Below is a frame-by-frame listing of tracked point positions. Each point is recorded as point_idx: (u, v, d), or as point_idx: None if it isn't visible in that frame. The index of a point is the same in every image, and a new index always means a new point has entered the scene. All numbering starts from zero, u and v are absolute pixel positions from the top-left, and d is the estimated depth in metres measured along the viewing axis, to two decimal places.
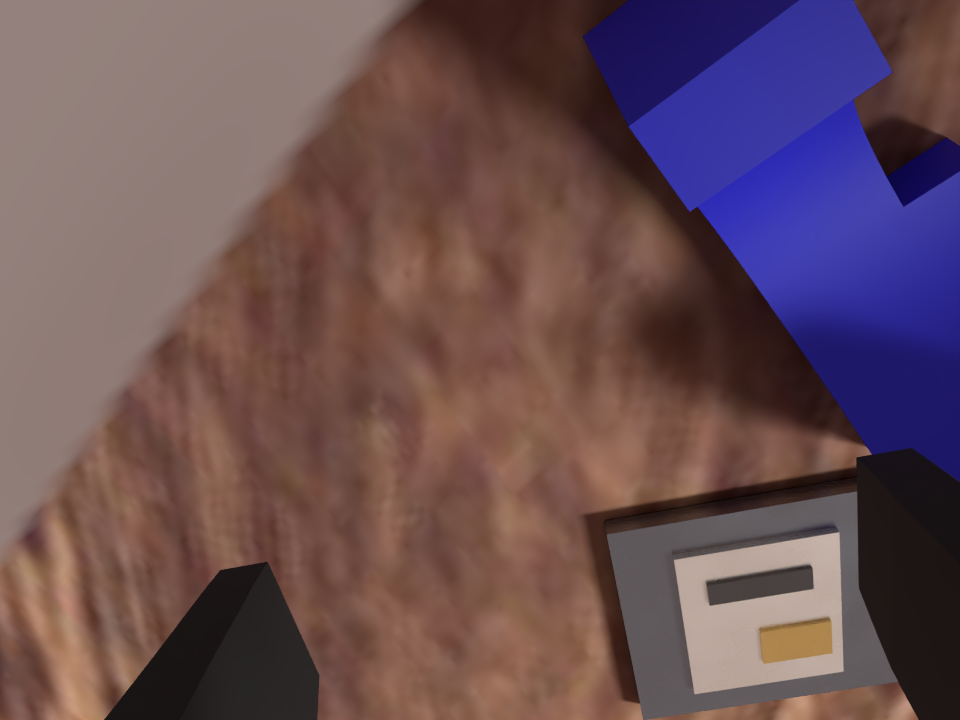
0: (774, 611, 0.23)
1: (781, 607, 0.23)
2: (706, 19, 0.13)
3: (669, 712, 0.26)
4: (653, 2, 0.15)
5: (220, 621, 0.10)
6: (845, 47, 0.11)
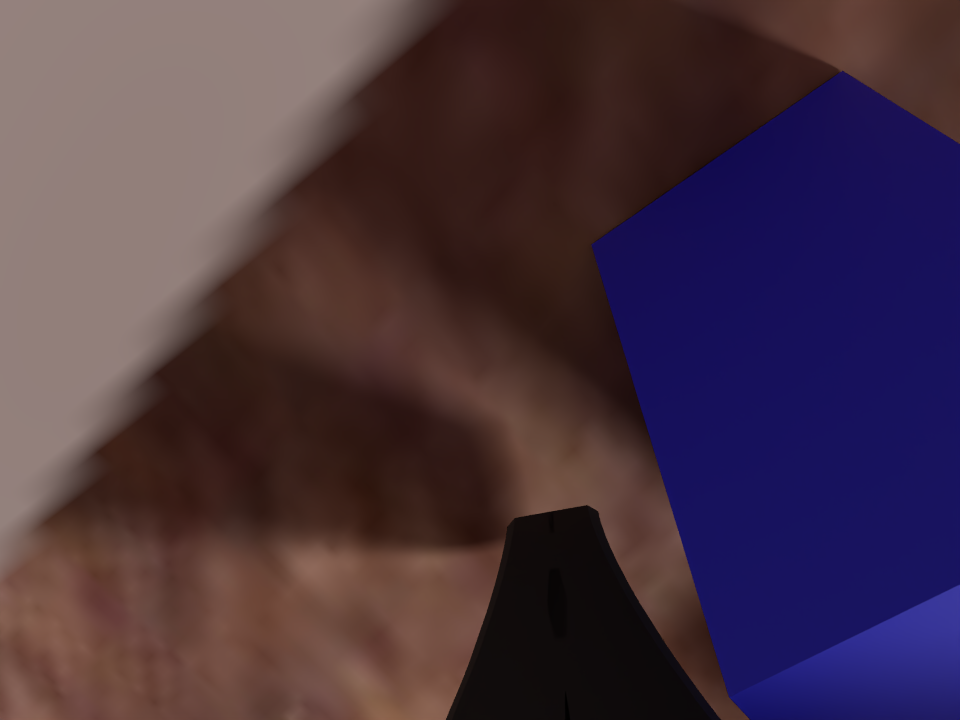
0: None
1: None
2: (885, 358, 0.06)
3: None
4: (728, 226, 0.08)
5: (550, 565, 0.09)
6: None
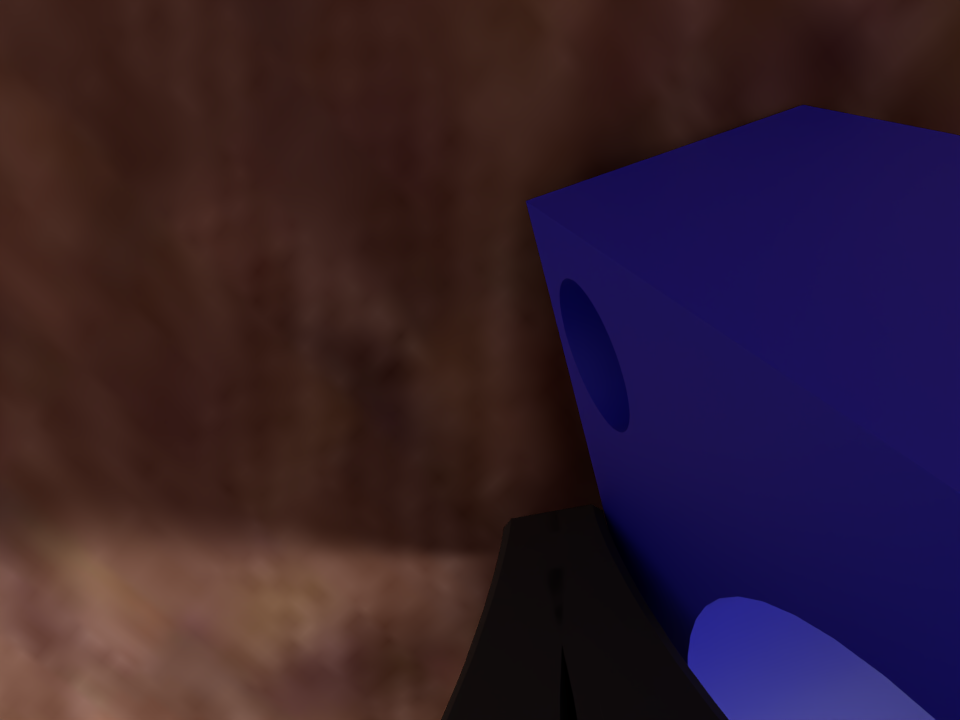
0: None
1: None
2: None
3: None
4: (723, 187, 0.08)
5: (546, 565, 0.09)
6: None
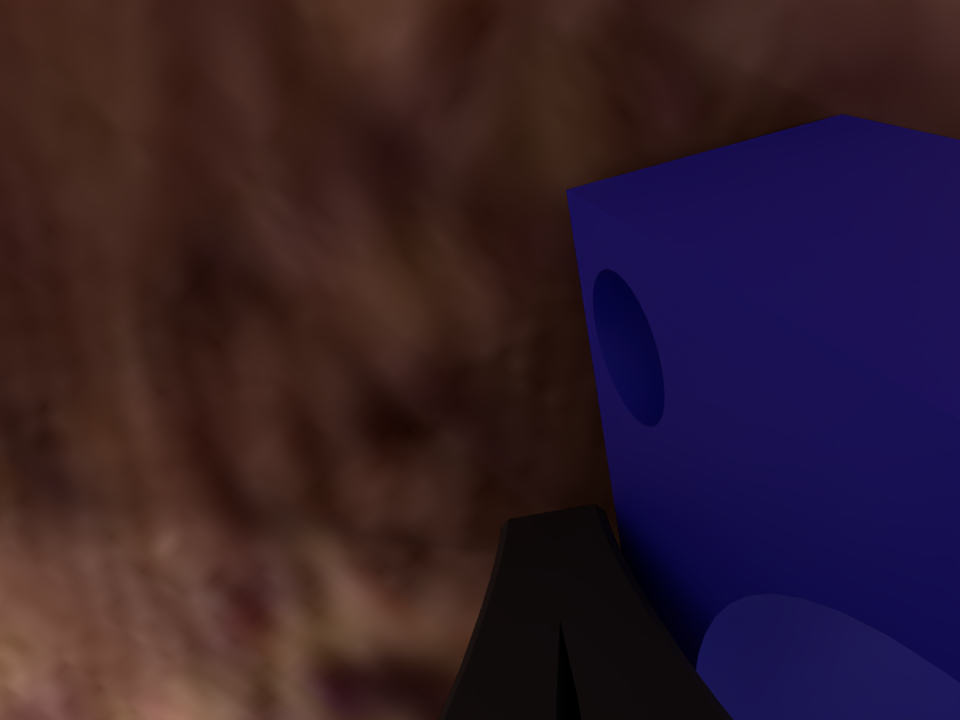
0: None
1: None
2: None
3: None
4: (773, 187, 0.08)
5: (543, 565, 0.09)
6: None
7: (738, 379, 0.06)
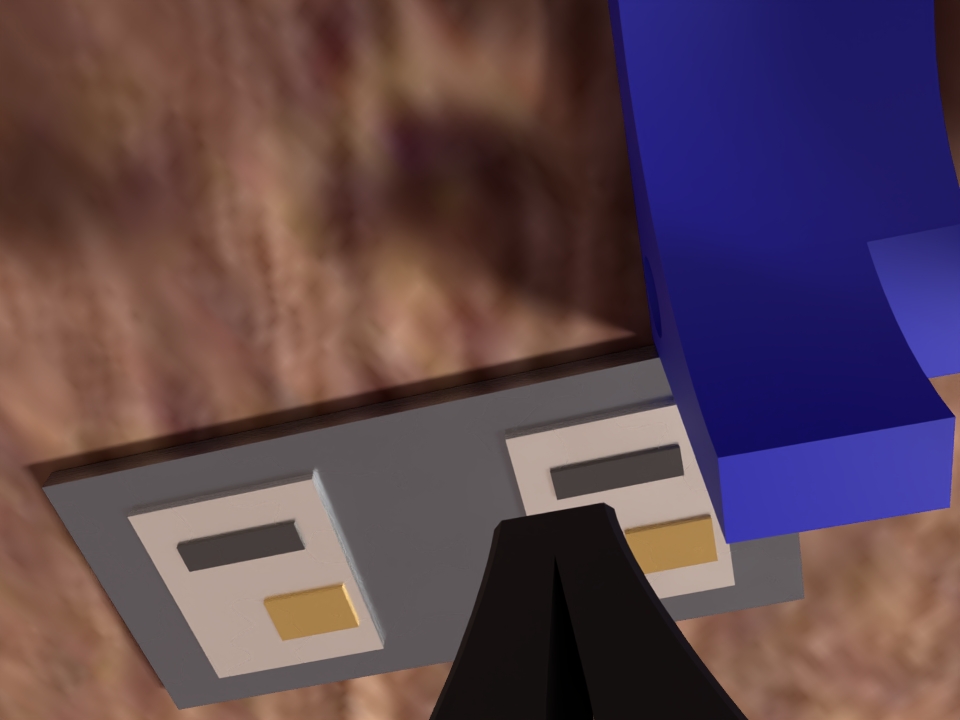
0: (272, 577, 0.20)
1: (280, 572, 0.20)
2: None
3: (209, 699, 0.22)
4: None
5: (534, 567, 0.09)
6: None
7: None
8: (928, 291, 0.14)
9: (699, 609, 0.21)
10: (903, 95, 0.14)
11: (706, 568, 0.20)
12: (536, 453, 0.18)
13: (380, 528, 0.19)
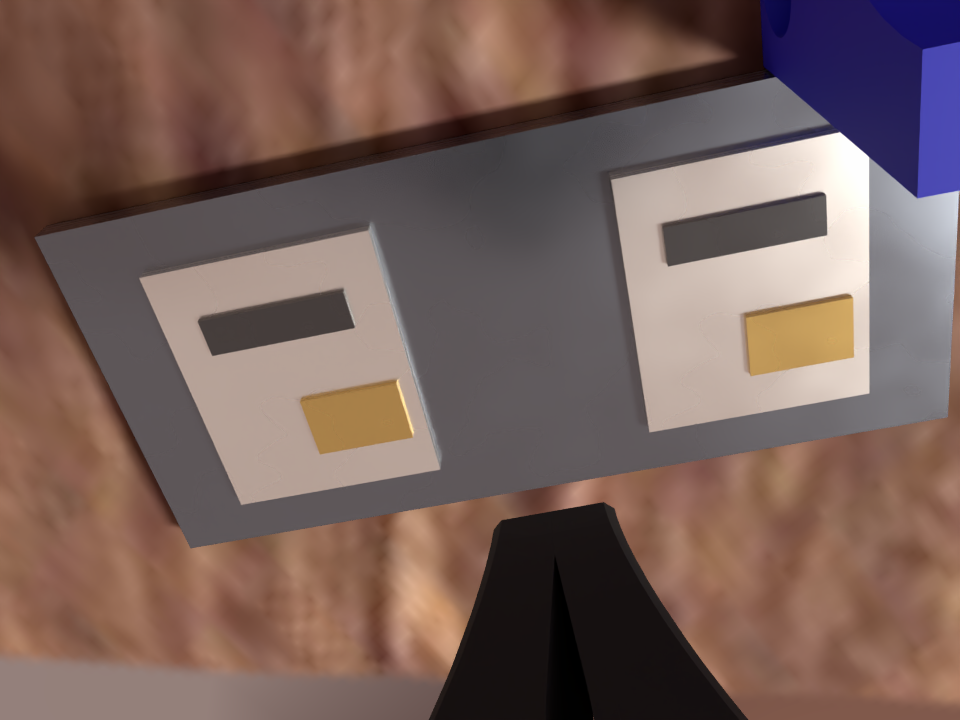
0: (312, 368, 0.16)
1: (322, 362, 0.16)
2: None
3: (226, 537, 0.19)
4: None
5: (535, 567, 0.09)
6: None
7: None
8: None
9: (821, 429, 0.17)
10: None
11: (838, 369, 0.16)
12: (648, 200, 0.15)
13: (446, 306, 0.16)
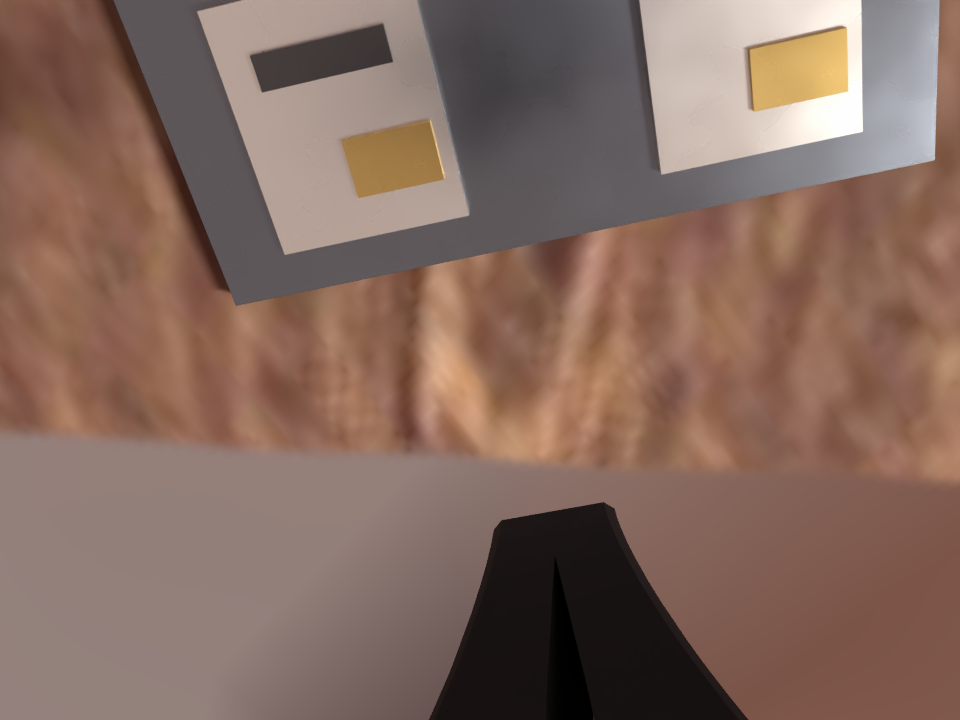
0: (353, 106, 0.18)
1: (362, 100, 0.18)
2: None
3: (269, 296, 0.20)
4: None
5: (535, 567, 0.09)
6: None
7: None
8: None
9: (819, 173, 0.19)
10: None
11: (833, 105, 0.18)
12: None
13: (476, 44, 0.17)
